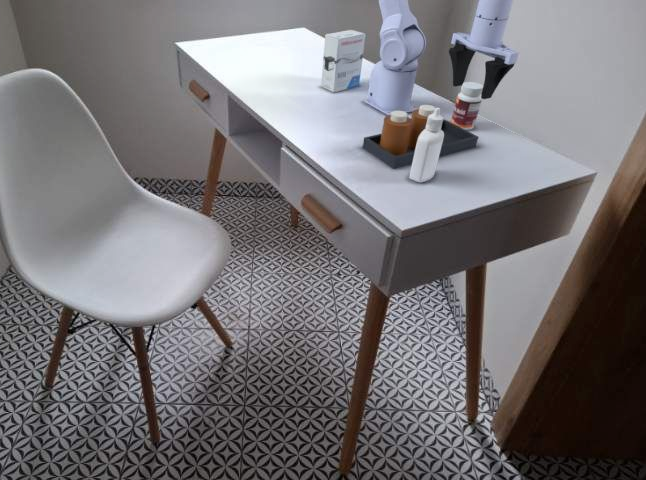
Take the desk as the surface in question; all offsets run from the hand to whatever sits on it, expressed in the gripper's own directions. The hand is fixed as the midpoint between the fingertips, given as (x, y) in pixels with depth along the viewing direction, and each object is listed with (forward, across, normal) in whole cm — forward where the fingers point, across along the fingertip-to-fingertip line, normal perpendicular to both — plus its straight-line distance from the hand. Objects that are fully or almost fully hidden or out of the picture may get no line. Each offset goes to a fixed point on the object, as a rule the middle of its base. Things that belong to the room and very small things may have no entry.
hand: (471, 91), depth 102 cm
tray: (+7, -4, +15) cm, 17 cm away
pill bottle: (+7, 0, 0) cm, 7 cm away
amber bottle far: (+6, -4, +22) cm, 23 cm away
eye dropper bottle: (+7, -13, +22) cm, 27 cm away
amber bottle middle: (+6, -4, +15) cm, 17 cm away
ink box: (+7, +30, +10) cm, 33 cm away
